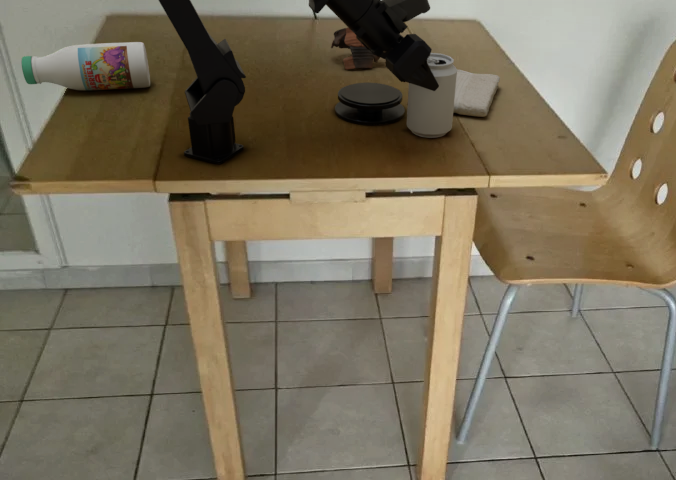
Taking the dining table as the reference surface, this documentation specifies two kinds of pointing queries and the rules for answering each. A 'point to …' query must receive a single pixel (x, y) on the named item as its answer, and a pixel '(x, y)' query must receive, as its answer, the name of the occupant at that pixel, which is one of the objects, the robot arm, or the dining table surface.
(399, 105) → the stand
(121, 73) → the milk bottle
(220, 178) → the dining table surface
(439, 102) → the can
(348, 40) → the pottery mug
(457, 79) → the washcloth
